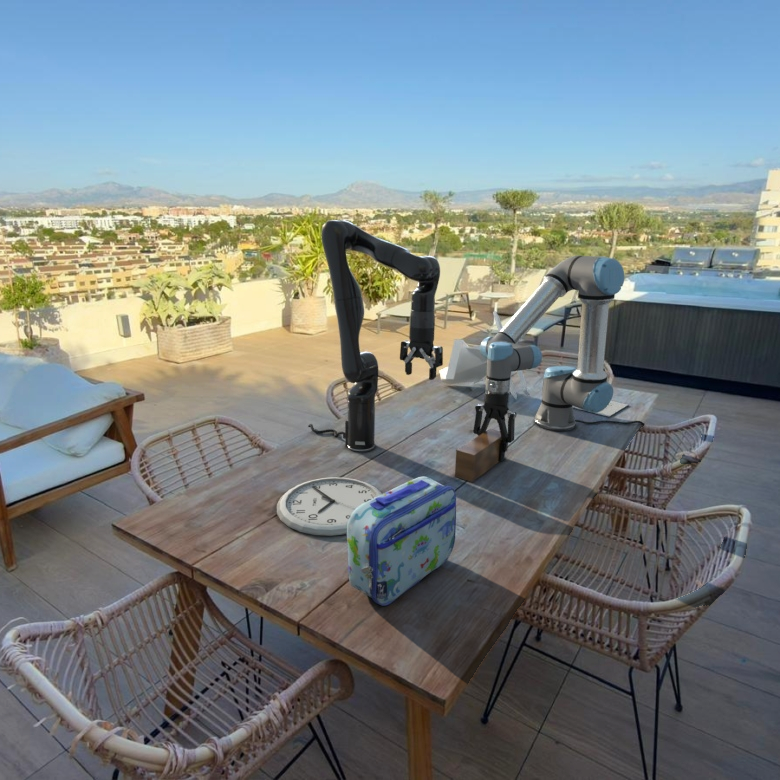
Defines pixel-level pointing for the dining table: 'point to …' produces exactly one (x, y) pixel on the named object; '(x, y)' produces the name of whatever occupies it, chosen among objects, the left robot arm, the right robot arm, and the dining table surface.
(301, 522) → the wall clock
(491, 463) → the box
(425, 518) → the lunch box
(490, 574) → the dining table surface
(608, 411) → the invitation card
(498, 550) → the dining table surface
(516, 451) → the dining table surface
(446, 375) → the white plastic object
